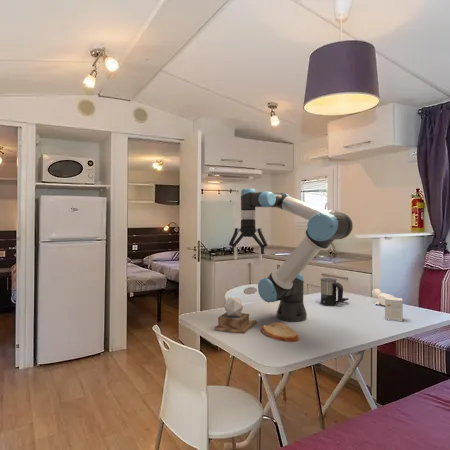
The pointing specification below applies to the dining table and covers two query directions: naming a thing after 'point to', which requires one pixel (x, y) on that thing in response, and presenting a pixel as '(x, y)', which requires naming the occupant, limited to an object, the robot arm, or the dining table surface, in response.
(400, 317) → the small box
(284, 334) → the slice of bread
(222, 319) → the wooden box on base
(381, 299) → the cream doll figurine
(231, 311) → the die
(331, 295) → the milk frother
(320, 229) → the robot arm
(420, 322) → the dining table surface
